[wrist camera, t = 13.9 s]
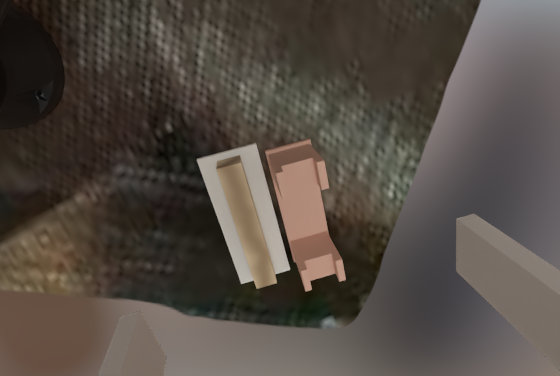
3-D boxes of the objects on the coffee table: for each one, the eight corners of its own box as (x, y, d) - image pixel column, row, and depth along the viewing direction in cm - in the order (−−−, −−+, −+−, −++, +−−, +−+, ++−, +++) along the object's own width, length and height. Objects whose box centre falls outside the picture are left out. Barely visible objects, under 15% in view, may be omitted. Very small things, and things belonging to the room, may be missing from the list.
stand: (293, 259, 58) (304, 294, 49) (264, 150, 49) (272, 170, 41) (330, 248, 58) (348, 281, 50) (309, 138, 49) (325, 156, 41)
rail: (254, 275, 57) (256, 288, 54) (216, 161, 48) (216, 169, 45) (274, 269, 57) (276, 282, 54) (239, 155, 48) (240, 162, 45)
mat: (241, 281, 58) (241, 284, 57) (196, 158, 48) (196, 159, 47) (289, 267, 58) (290, 269, 58) (255, 142, 48) (256, 143, 48)
